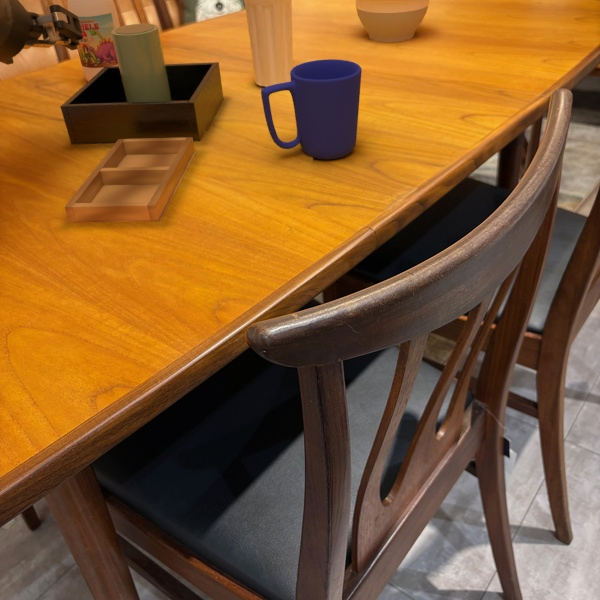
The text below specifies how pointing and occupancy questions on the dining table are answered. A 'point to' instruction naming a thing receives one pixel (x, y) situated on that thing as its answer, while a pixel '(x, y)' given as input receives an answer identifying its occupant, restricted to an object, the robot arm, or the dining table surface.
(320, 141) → the mug
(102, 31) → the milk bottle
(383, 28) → the bowl
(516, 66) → the dining table surface
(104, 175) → the divided wooden tray
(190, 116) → the dark brown open box
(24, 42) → the robot arm
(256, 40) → the cup
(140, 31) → the tumbler
